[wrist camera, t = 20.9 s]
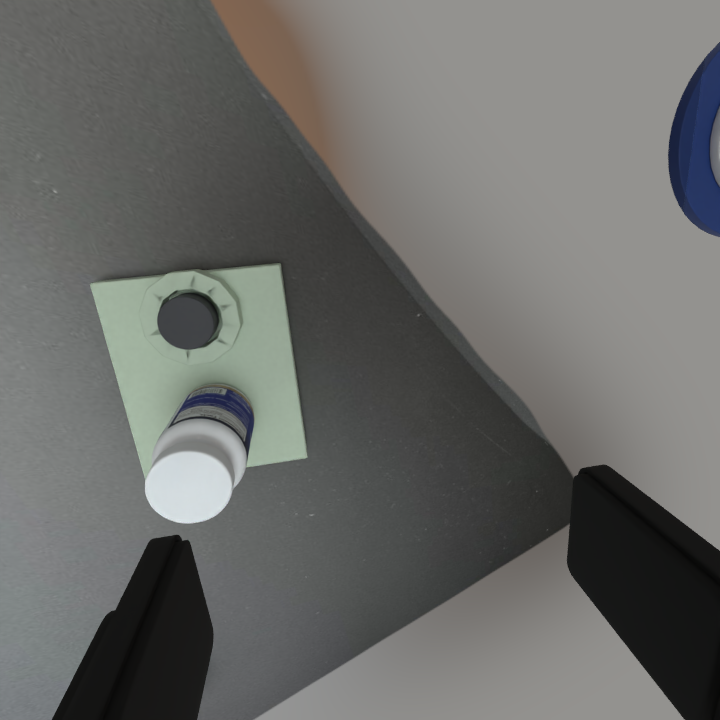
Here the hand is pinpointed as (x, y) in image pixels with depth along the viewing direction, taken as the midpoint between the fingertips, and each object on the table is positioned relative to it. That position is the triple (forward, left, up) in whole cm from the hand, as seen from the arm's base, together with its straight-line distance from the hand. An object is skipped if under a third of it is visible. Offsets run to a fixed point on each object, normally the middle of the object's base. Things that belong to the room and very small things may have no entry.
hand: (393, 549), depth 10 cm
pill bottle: (+9, +6, -23) cm, 26 cm away
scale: (+9, +3, -25) cm, 27 cm away
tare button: (+9, -2, -22) cm, 24 cm away
